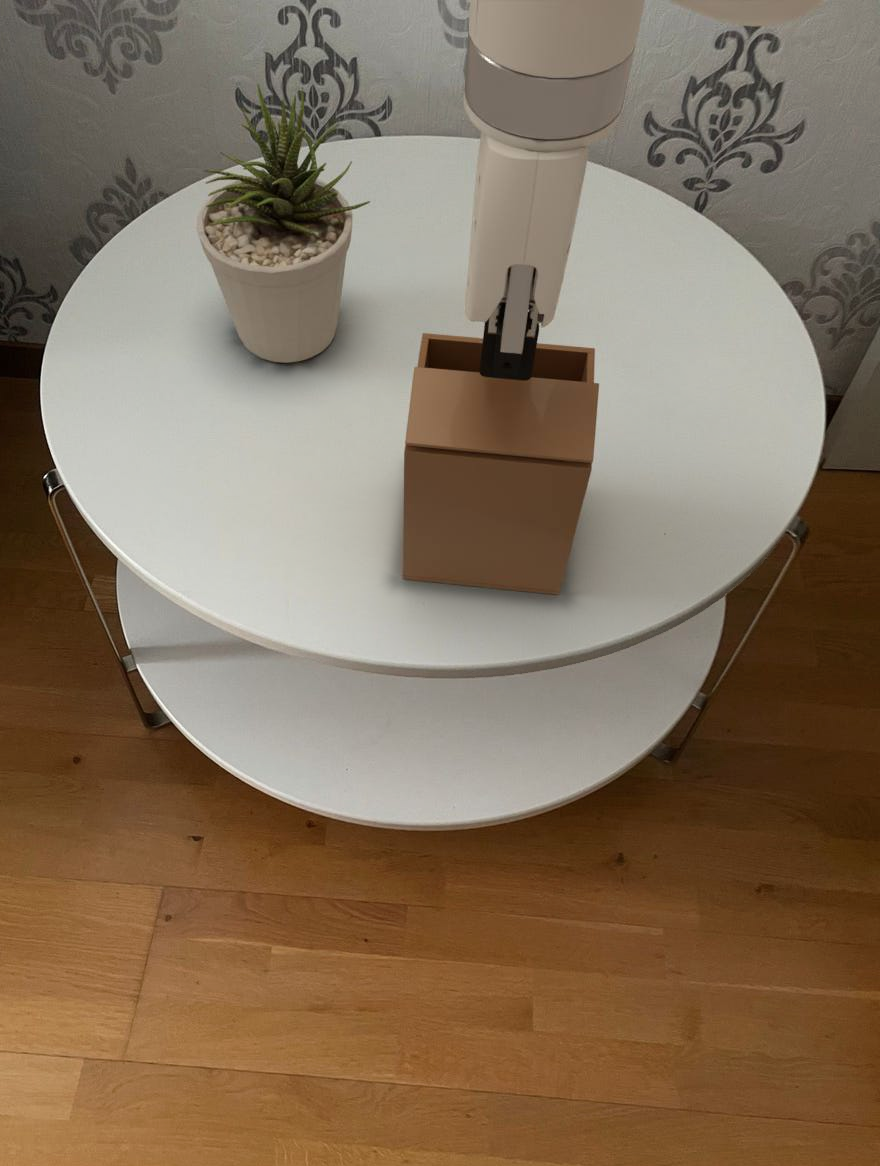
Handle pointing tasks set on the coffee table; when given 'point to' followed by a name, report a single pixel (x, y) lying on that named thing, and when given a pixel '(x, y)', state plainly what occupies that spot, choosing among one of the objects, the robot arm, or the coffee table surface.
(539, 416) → the carton flap
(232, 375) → the coffee table surface
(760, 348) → the coffee table surface
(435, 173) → the coffee table surface
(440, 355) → the carton
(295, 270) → the potted plant
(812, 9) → the robot arm
